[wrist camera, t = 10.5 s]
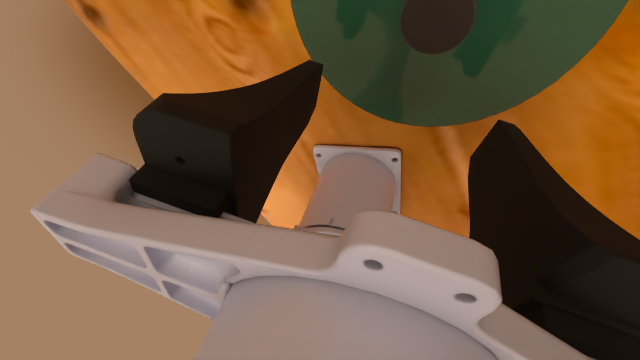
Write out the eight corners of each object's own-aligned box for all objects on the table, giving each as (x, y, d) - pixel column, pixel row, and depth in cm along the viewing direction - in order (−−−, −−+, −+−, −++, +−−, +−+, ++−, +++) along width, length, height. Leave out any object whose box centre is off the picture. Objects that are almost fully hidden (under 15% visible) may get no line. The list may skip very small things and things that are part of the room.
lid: (566, 118, 16) (593, 178, 13) (320, 114, 20) (297, 159, 17) (787, -395, 7) (1053, -600, 4) (260, -205, 11) (188, -231, 8)
